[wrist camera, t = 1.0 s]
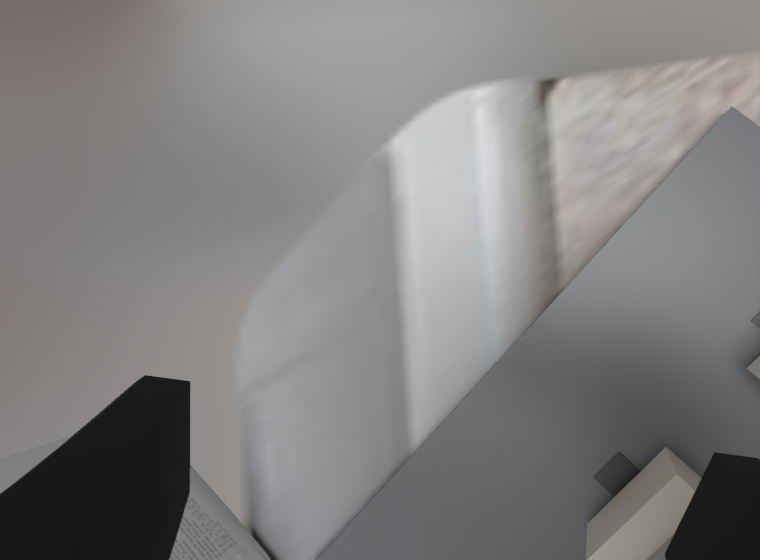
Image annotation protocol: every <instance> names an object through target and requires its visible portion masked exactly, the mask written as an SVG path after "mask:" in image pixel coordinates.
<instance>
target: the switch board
mask: <svg viewBox="0 0 760 560" xmlns="http://www.w3.org/2000/svg"><path fill="white" fill-rule="evenodd" d="M759 356H760V127H759V126H758V125H756V124H755V123H754V122H752V121H751V120H750V119H748V118H747V117H746V116H744V115H743V114H741V113H740V112H739V111H737V110H736V109H735V108H733V107H731V108H730V109H729V110H728V111H727V112H726V113H725V114H724V115H723V117H722V118H721V119H720V120H719V121H718V122H717V123H716V124H715V125H714V126H713V127H712V129H711V130H710V131H709V132H708V133H707V134H706V135H705V136H704V137H703V138H702V139H701V141H700V142H699V143H698V144H697V145H696V146H695V147H694V148H693V149H692V150H691V151H690V153H689V154H688V155H687V156H686V157H685V158H684V159H683V160H682V161H681V162H680V163H679V165H678V166H677V167H676V168H675V169H674V170H673V171H672V172H671V173H670V174H669V175H668V177H667V178H666V179H665V180H664V181H663V182H662V183H661V184H660V185H659V186H658V188H657V189H656V190H655V191H654V192H653V193H652V194H651V195H650V196H649V197H648V198H647V200H646V201H645V202H644V203H643V204H642V205H641V206H640V207H639V208H638V209H637V210H636V212H635V213H634V214H633V215H632V216H631V217H630V218H629V219H628V220H627V221H626V222H625V224H624V225H623V226H622V227H621V228H620V229H619V230H618V231H617V232H616V233H615V234H614V236H613V237H612V238H611V239H610V240H609V241H608V242H607V243H606V244H605V245H604V246H603V248H602V249H601V250H600V251H599V252H598V253H597V254H596V255H595V256H594V257H593V259H592V260H591V261H590V262H589V263H588V264H587V265H586V266H585V267H584V268H583V269H582V271H581V272H580V273H579V274H578V275H577V276H576V277H575V278H574V279H573V280H572V281H571V283H570V284H569V285H568V286H567V287H566V288H565V289H564V290H563V291H562V292H561V293H560V295H559V296H558V297H557V298H556V299H555V300H554V301H553V302H552V303H551V304H550V305H549V307H548V308H547V309H546V310H545V311H544V312H543V313H542V314H541V315H540V316H539V317H538V319H537V320H536V321H535V322H534V323H533V324H532V325H531V326H530V327H529V328H528V329H527V331H526V332H525V333H524V334H523V335H522V336H521V337H520V338H519V339H518V340H517V342H516V343H515V344H514V345H513V346H512V347H511V348H510V349H509V350H508V351H507V352H506V354H505V355H504V356H503V357H502V358H501V359H500V360H499V361H498V362H497V363H496V364H495V366H494V367H493V368H492V369H491V370H490V371H489V372H488V373H487V374H486V375H485V376H484V378H483V379H482V380H481V381H480V382H479V383H478V384H477V385H476V386H475V387H474V388H473V390H472V391H471V392H470V393H469V394H468V395H467V396H466V397H465V398H464V399H463V400H462V402H461V403H460V404H459V405H458V406H457V407H456V408H455V409H454V410H453V411H452V413H451V414H450V415H449V416H448V417H447V418H446V419H445V420H444V421H443V422H442V423H441V425H440V426H439V427H438V428H437V429H436V430H435V431H434V432H433V433H432V434H431V435H430V437H429V438H428V439H427V440H426V441H425V442H424V443H423V444H422V445H421V446H420V447H419V449H418V450H417V451H416V452H415V453H414V454H413V455H412V456H411V457H410V458H409V459H408V461H407V462H406V463H405V464H404V465H403V466H402V467H401V468H400V469H399V470H398V471H397V473H396V474H395V475H394V476H393V477H392V478H391V479H390V480H389V481H388V482H387V484H386V485H385V486H384V487H383V488H382V489H381V490H380V491H379V492H378V493H377V494H376V496H375V497H374V498H373V499H372V500H371V501H370V502H369V503H368V504H367V505H366V506H365V508H364V509H363V510H362V511H361V512H360V513H359V514H358V515H357V516H356V517H355V518H354V520H353V521H352V522H351V523H350V524H349V525H348V526H347V527H346V528H345V529H344V530H343V532H342V533H341V534H340V535H339V536H338V537H337V538H336V539H335V540H334V541H333V542H332V544H331V545H330V546H329V547H328V548H327V549H326V550H325V551H324V552H323V553H322V555H321V556H320V557H319V558H318V559H317V560H586V541H587V523H588V522H589V521H590V520H591V519H592V518H593V517H594V516H596V515H597V514H598V513H599V512H600V511H601V510H602V509H603V508H604V507H605V506H606V505H607V504H608V503H609V502H610V501H611V500H612V499H613V498H614V497H615V496H616V495H617V494H618V493H619V492H620V491H621V490H622V489H623V488H624V487H625V486H626V485H627V484H628V483H629V482H630V481H631V480H632V479H633V478H635V477H636V476H637V475H638V474H639V473H640V472H641V471H642V470H643V469H644V468H645V467H646V466H647V465H648V464H649V463H650V462H651V461H652V460H653V459H654V458H655V457H656V456H657V455H658V454H659V453H660V452H661V451H662V450H663V449H664V448H665V447H667V448H668V449H669V450H671V451H672V452H673V453H674V454H675V455H676V456H677V457H678V458H680V459H681V460H682V461H683V462H684V463H685V464H686V465H688V466H689V467H690V468H691V469H692V470H693V471H694V472H695V473H697V474H698V475H699V476H700V477H701V478H702V476H703V474H704V472H705V470H706V468H707V466H708V464H709V462H710V460H711V458H712V456H713V454H714V452H716V453H724V454H731V455H738V456H746V457H753V458H758V459H760V380H759V379H758V378H757V377H755V376H754V375H753V374H752V373H751V372H749V371H748V370H747V369H746V368H747V367H748V366H749V365H750V364H752V363H753V362H754V361H755V360H756V359H757V358H758V357H759Z"/></svg>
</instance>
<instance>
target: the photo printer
mask: <svg viewBox="0 0 760 560" xmlns="http://www.w3.org/2000/svg"><path fill="white" fill-rule="evenodd" d="M71 437H72V436H71ZM71 437H68V438H65V439H62V440H59V441H55V442H52V443H49V444H46V445H43V446H40V447H37V448H33V449H30V450H27V451H24V452H20V453H18V454H14V455H11V456H8V457H4V458H1V459H0V493H2V492H3V491H4V490H6V489H7V488H8V487H10V486H11V485H12V484H13V483H15V482H16V481H17V480H19V479H20V478H21V477H22V476H24V475H25V474H26V473H27V472H29V471H30V470H31V469H32V468H34V467H35V466H36V465H37V464H39V463H40V462H41V461H42V460H44V459H45V458H46V457H47V456H49V455H50V454H51V453H52V452H54V451H55V450H56V449H57V448H58V447H60V446H61V445H62V444H63V443H65V442H66V441H67V440H68V439H70V438H71ZM169 560H271V559H270V558H269V556H268V555H267V553H266V552H265V551H264V550H263V549H262V547H261V546H260V545H259V543H258V542H257V541H256V540H255V539H254V538H253V536H252V535H251V534H250V533H249V532H248V531H247V529H246V528H245V527H244V526H243V525H242V523H241V522H240V521H239V520H238V519H237V518H236V517H235V516H234V514H233V513H232V512H231V511H230V510H229V509H228V507H227V506H226V505H225V504H224V503H223V502H222V501H221V499H220V498H219V497H218V496H217V495H216V494H215V492H214V491H213V490H212V489H211V488H210V487H209V486H208V485H207V484H206V483H205V481H204V480H203V479H202V478H201V477H200V476H199V475H198V474H197V472H196V471H195V470H194V469H193V468H192V467H191V465H190V493H189V497H188V500H187V503H186V507H185V510H184V513H183V517H182V520H181V524H180V527H179V530H178V533H177V537H176V540H175V543H174V546H173V549H172V553H171V556H170V559H169Z"/></svg>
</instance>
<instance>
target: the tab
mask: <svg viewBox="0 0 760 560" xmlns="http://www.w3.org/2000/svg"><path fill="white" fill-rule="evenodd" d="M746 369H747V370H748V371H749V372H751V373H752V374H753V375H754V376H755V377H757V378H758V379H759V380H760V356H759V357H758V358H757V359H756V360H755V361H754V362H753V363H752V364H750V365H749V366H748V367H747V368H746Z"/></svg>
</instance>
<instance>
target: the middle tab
mask: <svg viewBox="0 0 760 560" xmlns="http://www.w3.org/2000/svg"><path fill="white" fill-rule="evenodd" d="M700 480H701V477H700V476H699V475H698V474H697V473H695V472H694V471H693V470H692V469H691V468H690V467H689V466H688V465H686V464H685V463H684V462H683V461H682V460H681V459H680V458H678V457H677V456H676V455H675V454H674V453H673V452H672V451H671V450H669V449H668V448H667V447H665V448H664V449H663V450H662V451H661V452H660V453H659V454H658V455H657V456H656V457H655V458H654V459H653V460H652V461H651V462H650V463H649V464H648V465H647V466H646V467H645V468H644V469H643V470H642V471H641V472H640V473H639V474H638V475H637V476H636V477H635V478H633V479H632V480H631V481H630V482H629V483H628V484H627V485H626V486H625V487H624V488H623V489H622V490H621V491H620V492H619V493H618V494H617V495H616V496H615V497H614V498H613V499H612V500H611V501H610V502H609V503H608V504H607V505H606V506H605V507H604V508H603V509H602V510H601V511H600V512H599V513H598V514H597V515H596V516H594V517H593V518H592V519H591V520H590V521H589V522H588V523H587V541H586V560H666V558H665V552H666V550H667V548H668V546H669V544H670V542H671V540H672V538H673V536H674V534H675V532H676V529H677V527H678V525H679V523H680V521H681V519H682V517H683V515H684V513H685V511H686V509H687V507H688V505H689V503H690V501H691V499H692V497H693V495H694V493H695V491H696V489H697V487H698V485H699V482H700Z"/></svg>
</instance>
